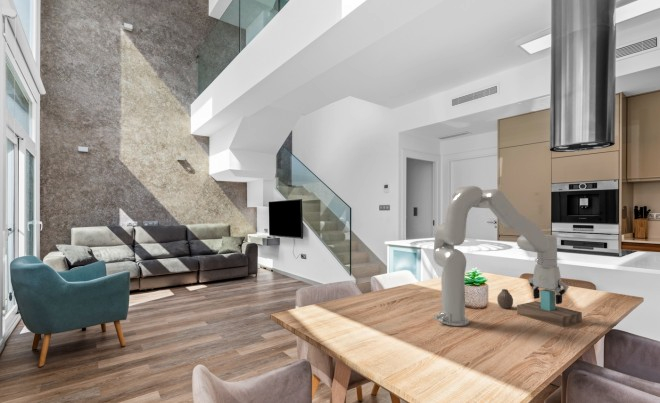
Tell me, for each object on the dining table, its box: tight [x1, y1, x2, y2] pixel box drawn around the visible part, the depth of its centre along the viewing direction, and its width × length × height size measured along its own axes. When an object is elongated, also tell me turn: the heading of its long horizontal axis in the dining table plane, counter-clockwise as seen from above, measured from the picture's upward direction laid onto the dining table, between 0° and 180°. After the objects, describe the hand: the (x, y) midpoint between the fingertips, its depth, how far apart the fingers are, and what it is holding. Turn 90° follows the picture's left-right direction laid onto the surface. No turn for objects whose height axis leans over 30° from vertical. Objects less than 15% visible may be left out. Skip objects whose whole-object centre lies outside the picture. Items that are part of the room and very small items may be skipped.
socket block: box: [516, 300, 583, 328], centre depth 153 cm, size 14×20×4 cm
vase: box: [496, 288, 514, 310], centre depth 168 cm, size 7×7×9 cm
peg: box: [539, 288, 556, 311], centre depth 153 cm, size 4×4×12 cm
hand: (547, 300), depth 153 cm, fingers open, 9 cm apart
